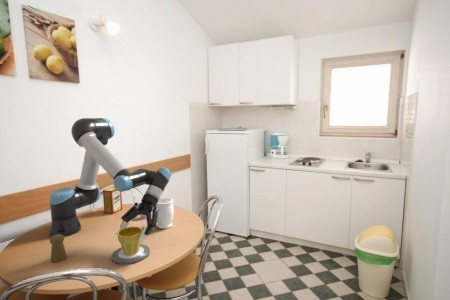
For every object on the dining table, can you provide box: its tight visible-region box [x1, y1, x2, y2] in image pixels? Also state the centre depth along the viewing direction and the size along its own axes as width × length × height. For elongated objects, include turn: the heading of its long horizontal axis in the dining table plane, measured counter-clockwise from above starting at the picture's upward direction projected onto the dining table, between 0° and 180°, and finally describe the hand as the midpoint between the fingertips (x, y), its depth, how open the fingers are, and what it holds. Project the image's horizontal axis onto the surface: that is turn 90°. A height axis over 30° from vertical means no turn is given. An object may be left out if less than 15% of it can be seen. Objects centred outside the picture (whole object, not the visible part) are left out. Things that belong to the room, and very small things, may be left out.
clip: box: [131, 199, 153, 220], centre depth 170 cm, size 20×12×7 cm, turn 1°
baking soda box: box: [102, 186, 123, 215], centre depth 174 cm, size 10×6×16 cm
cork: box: [49, 234, 68, 264], centre depth 114 cm, size 6×6×11 cm
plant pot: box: [117, 226, 143, 255], centre depth 117 cm, size 10×10×10 cm
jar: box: [156, 197, 175, 230], centre depth 148 cm, size 11×10×15 cm
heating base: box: [111, 243, 151, 266], centre depth 117 cm, size 16×16×1 cm
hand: (129, 238), depth 116 cm, fingers open, 13 cm apart
